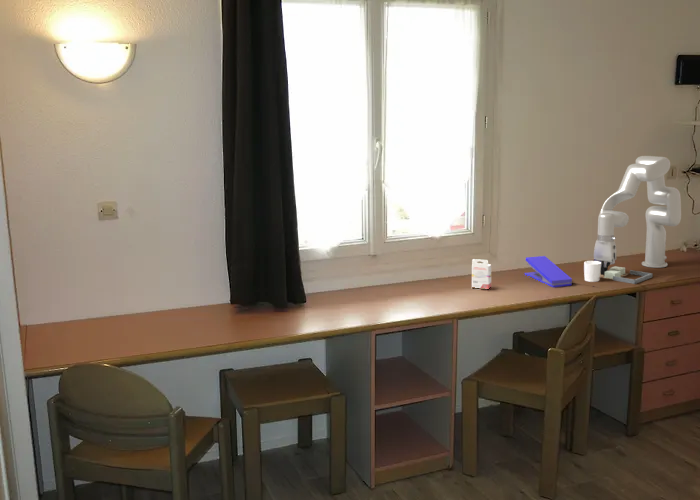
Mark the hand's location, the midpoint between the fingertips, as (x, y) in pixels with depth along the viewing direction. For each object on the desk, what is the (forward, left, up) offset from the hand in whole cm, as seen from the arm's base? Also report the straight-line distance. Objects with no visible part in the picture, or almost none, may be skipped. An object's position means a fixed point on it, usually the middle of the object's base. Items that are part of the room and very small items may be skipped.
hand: (603, 274), depth 360 cm
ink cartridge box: (+55, -33, -2) cm, 64 cm away
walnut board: (-4, +1, -2) cm, 5 cm away
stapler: (+21, -19, -3) cm, 28 cm away
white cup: (+11, 0, -2) cm, 11 cm away
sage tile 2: (-8, +3, -1) cm, 9 cm away
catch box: (-4, +13, -2) cm, 14 cm away
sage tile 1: (0, +5, -1) cm, 5 cm away
